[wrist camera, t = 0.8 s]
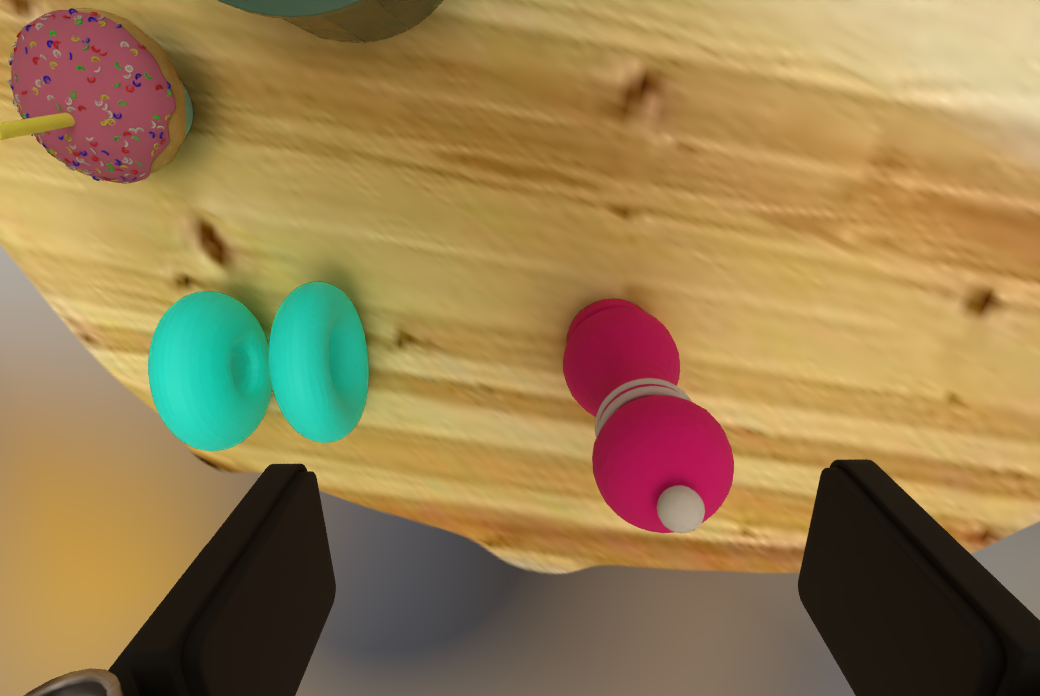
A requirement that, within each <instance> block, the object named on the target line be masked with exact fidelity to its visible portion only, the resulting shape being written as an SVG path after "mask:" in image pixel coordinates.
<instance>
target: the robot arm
mask: <svg viewBox="0 0 1040 696" xmlns="http://www.w3.org/2000/svg"><path fill="white" fill-rule="evenodd" d="M335 591H336V584H335V577H334V572H333V566H332V561H331V555H330V550H329V544H328V539H327V533H326V527H325V522H324V517H323V511H322V505H321V500H320V494H319V489H318V483H317V478H316V475H315V473H314V472H307V469H306V467H305V465H303V464H271V465H269V466H268V467H267V468H266V469H265V471H264V472H263V473H262V475H261V476H260V477H259V478H258V480H257V481H256V482H255V484H254V485H253V486H252V488H251V489H250V490H249V491H248V493H247V494H246V495H245V496H244V498H243V499H242V500H241V502H240V503H239V504H238V506H237V507H236V508H235V509H234V511H233V512H232V513H231V514H230V516H229V517H228V518H227V520H226V521H225V522H224V523H223V525H222V526H221V527H220V528H219V530H218V531H217V532H216V534H215V535H214V536H213V537H212V539H211V540H210V541H209V543H208V544H207V545H206V546H205V547H204V548H203V550H202V551H201V552H200V553H199V555H198V556H197V557H196V559H195V560H194V561H193V562H192V564H191V565H190V566H189V568H188V569H187V570H186V572H185V573H184V574H183V575H182V576H181V578H180V579H179V580H178V582H177V583H176V584H175V586H174V587H173V588H172V589H171V591H170V592H169V593H168V594H167V596H166V597H165V598H164V600H163V601H162V602H161V603H160V605H159V606H158V607H157V608H156V610H155V611H154V612H153V614H152V615H151V616H150V617H149V619H148V620H147V621H146V623H145V624H144V625H143V627H142V628H141V629H140V630H139V631H138V633H137V634H136V635H135V637H134V638H133V639H132V641H131V642H130V643H129V644H128V646H127V647H126V648H125V649H124V651H123V652H122V653H121V655H120V656H119V657H118V659H117V660H116V661H115V662H114V664H113V665H112V666H111V667H110V669H109V670H108V671H107V670H101V669H85V670H80V671H75V672H70V673H68V674H65V675H63V676H60V677H57V678H55V679H52V680H50V681H48V682H46V683H44V684H42V685H41V686H39V687H37V688H35V689H33V690H32V691H30V692H28V693H27V694H26V695H24V696H295V695H296V692H297V690H298V687H299V685H300V682H301V680H302V678H303V675H304V673H305V670H306V668H307V666H308V663H309V661H310V658H311V656H312V654H313V651H314V649H315V646H316V644H317V641H318V639H319V637H320V634H321V632H322V629H323V627H324V625H325V622H326V620H327V617H328V615H329V613H330V610H331V608H332V605H333V602H334V597H335ZM798 591H799V595H800V599H801V601H802V603H803V605H804V607H805V609H806V610H807V612H808V614H809V616H810V617H811V619H812V621H813V622H814V624H815V626H816V628H817V629H818V631H819V633H820V634H821V636H822V638H823V640H824V642H825V643H826V645H827V647H828V648H829V650H830V652H831V654H832V655H833V657H834V659H835V660H836V662H837V664H838V665H839V667H840V669H841V671H842V673H843V674H844V676H845V678H846V680H847V681H848V683H849V685H850V686H851V688H852V690H853V691H854V693H855V695H856V696H1040V620H1039V619H1037V617H1035V616H1034V615H1033V614H1032V613H1031V612H1030V611H1029V610H1028V609H1027V608H1026V607H1025V606H1024V605H1023V604H1022V603H1021V602H1020V601H1019V600H1018V599H1017V598H1016V597H1015V596H1014V595H1012V594H1011V593H1010V592H1009V591H1008V590H1007V589H1006V588H1005V587H1004V586H1003V585H1002V584H1001V583H1000V582H999V581H998V580H997V579H996V578H995V577H994V576H993V575H991V573H989V572H988V571H987V570H986V569H985V568H984V567H983V566H982V565H981V564H980V563H979V562H978V561H977V560H976V559H975V558H974V557H973V556H972V555H971V554H970V553H969V552H968V551H967V550H965V549H964V548H963V547H962V546H961V545H960V544H959V543H958V542H957V541H956V540H955V539H954V538H953V537H952V536H951V535H950V534H949V533H948V532H947V531H946V530H945V529H944V528H942V527H941V526H940V525H939V524H938V523H937V522H936V521H935V520H934V519H933V518H932V517H931V516H930V515H929V514H928V513H927V512H926V511H925V510H924V509H923V508H922V507H921V506H919V505H918V504H917V503H916V502H915V501H914V500H913V499H912V498H911V497H910V496H909V495H908V494H907V493H906V492H905V491H904V490H903V489H902V488H901V487H900V486H899V485H898V484H897V483H895V482H894V481H893V480H892V479H891V478H890V477H889V476H888V475H887V474H886V473H885V472H884V471H883V470H882V469H881V468H880V467H879V466H878V465H877V464H876V463H874V462H873V461H871V460H835V461H833V463H832V464H831V465H830V468H825V469H824V470H823V471H822V473H821V476H820V481H819V485H818V490H817V495H816V500H815V504H814V509H813V514H812V518H811V523H810V528H809V533H808V537H807V542H806V547H805V552H804V556H803V561H802V566H801V570H800V575H799V580H798Z"/></svg>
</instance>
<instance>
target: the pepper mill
mask: <svg viewBox="0 0 1040 696" xmlns="http://www.w3.org/2000/svg"><path fill="white" fill-rule="evenodd" d="M563 372H564V375H565V379H566V382H567V385H568V387H569V389H570V392H571V394H572V396H573V397H574V398H575V400H576V401H577V402H578V403H579V404H580V405H581V406H582V407H583V408H584V409H585V410H586V411H587V412H589V413H590V414H592V415H593V416H595V417H596V420H595V433H596V437H597V438H596V441H595V443H594V449H593V456H592V461H593V473H594V477H595V480H596V483H597V486H598V488H599V491H600V493H601V495H602V497H603V498H604V500H605V502H606V503H607V504H608V505H609V506H610V508H611V509H612V510H613V511H614V512H615V513H616V514H617V515H618V516H620V517H621V518H622V519H624V520H625V521H627V522H628V523H630V524H632V525H634V526H636V527H639V528H641V529H645V530H648V531H652V532H659V533H672V532H676V533H688V532H691V531H694V530H695V529H697V528H698V527H699V526H700V524H701V523H703V522H704V521H705V520H707V519H708V518H709V517H710V516H712V515H713V514H714V513H715V512H716V511H717V510H718V509H719V507H720V506H721V505H722V503H723V502H724V500H725V498H726V497H727V495H728V493H729V490H730V488H731V485H732V481H733V473H734V460H733V454H732V449H731V446H730V444H729V441H728V439H727V437H726V434H725V432H724V430H723V429H722V427H721V426H720V424H719V423H718V422H717V421H716V420H715V418H714V417H713V416H712V415H711V414H710V413H709V412H708V411H707V410H706V409H704V408H702V407H700V406H698V405H696V404H695V403H693V402H691V400H690V398H689V397H688V396H687V395H686V393H685V392H684V391H683V390H682V389H680V388H679V387H677V383H678V380H679V374H680V360H679V353H678V350H677V347H676V344H675V342H674V340H673V338H672V336H671V335H670V333H669V331H668V330H667V329H666V327H665V326H664V325H663V324H662V323H661V322H660V321H658V320H657V319H656V318H655V317H653V316H651V315H649V314H647V313H645V312H644V311H643V310H642V309H641V308H640V307H638V306H637V305H635V304H633V303H631V302H628V301H625V300H620V299H607V300H601V301H598V302H595V303H593V304H591V305H589V306H587V307H586V308H585V309H583V310H582V311H581V312H580V313H579V314H578V315H577V316H576V317H575V319H574V320H573V322H572V324H571V326H570V328H569V331H568V334H567V345H566V348H565V352H564V358H563Z"/></svg>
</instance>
